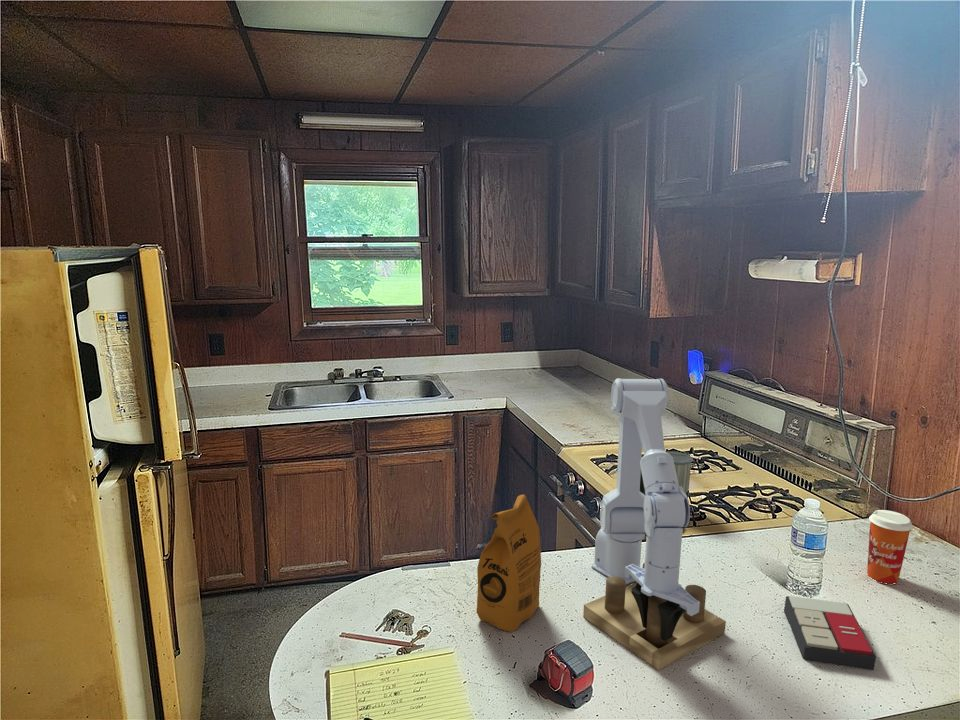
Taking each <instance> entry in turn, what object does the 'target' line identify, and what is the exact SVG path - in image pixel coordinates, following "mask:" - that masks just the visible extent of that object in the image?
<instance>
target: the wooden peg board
mask: <svg viewBox="0 0 960 720" xmlns="http://www.w3.org/2000/svg"><path fill="white" fill-rule="evenodd" d="M644 566H645V562H643V564H642V568H644ZM636 584H637V581H635V582H632V583H630V584H628V585H626V581H625V580H624V579H622V578H620V577H616V576H612V577H607V578H606V579H605V594H604V595H603V596H601V597H599V598H597V599H594V600H592V601H590V602H587V603H585V604H583V613H582V614H583V615H582V617H583V618H584V619H585V620H587V621H589V623H591V624H593V625H594V626H596V627H597V628H598V629H600V630H601V631H602V632H604V633H605V634H607V636H609V637H611V638H612V639H614V640H615V641H616V642H618V643H620V645H622V646H623V647H625V648H626V649H628V650H629V651H630V652H632V653H634V654H635V655H636V656H637V657H639V658H640V659H642V660H644V661H645V662H646V663H648V664H649V665H650V666H652V667H653V668H654V669H656V670H657V671H661V670H663V669H665V668H666V667H667V666H670V665H671V664H673V663H674V662H676V661H678V660H680V659H682V658H684V657H685V656H687V655H688V654H690V653H692V652H694V651H696V650H698V649H699V648H701V647H703V646H705V645H707V644H708V643H710V642H712V641H714V640H715V639H717V638H720V637H721V636H722V635H724V634H725V632H726V623H727V621H726V620H724V619H723V618H722V617H719V616H718V615H717V614H714V613H712V612H710V611H709V610H708V609H706V608H705V607H706V600H707V598H706V597H707V591H706V589H705V588H704V587H703V586H701V585H697V584H687V585H686V586H685V588H684V589H685V590H686V591H687V592H688V593H689V594H690V595H691V596H692V597H693V598H695V599H696V600H697V601H699V602H700V607H699V613H697V614H695V615H693V616H690V615H689V614H687V610H685V611H684V613H683V614H682V616H681V617H680V619H679V621H678V623H677V625H676V627H675V629H674V632H673V635H672V637H671V638H669V639H667V645H665V646H663V647H661V648H660V649H658V648H656V647H655V646H653V645H652V644H650V643H649V642H647V641H646V628H644V627H643V625H642V621H641V616H640V612H639V608H638V605H637V603H636V600H635V598H634V596H633V595H632V593H631V590H632V588H633V587H635V586H636Z"/></svg>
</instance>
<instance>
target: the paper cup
mask: <svg viewBox="0 0 960 720" xmlns="http://www.w3.org/2000/svg"><path fill="white" fill-rule="evenodd" d="M868 520H869V521H870V524H869V535H868V552H867V565H866V567H867V568H866V569H867V571H866V574H868V575H867V577H868V576H869V577H871V578H872V579H874V580H876V581H878V582H882V583H887V584H893V583H897V584H898V582H899V579H900V575H901V572H902V571H901V570H902V568H903V567H902V566H903V563H904V559H905V553H906V550H907V546H908V545H907V544H908V541H909V536H910V533H911V530H913V529H914V526H913V523H912V521H911V519H910V518H909V517H907V515H904V514H903V513H900V512H897V511H893V510H886V509H877V510H875V511H874V512H873V513H871V515H870V516H869V517H868ZM869 577H868V578H869ZM872 579H871V580H872ZM878 582H877V583H878Z"/></svg>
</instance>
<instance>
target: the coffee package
mask: <svg viewBox="0 0 960 720" xmlns="http://www.w3.org/2000/svg"><path fill="white" fill-rule="evenodd" d="M491 519H492V520H496V524H497V526H496V528H494V531H493V532H492V533H493V534H492V536H491V539H490V541H488V542H487V543H486V545H485V547H484V548H483V550H482V551H481V554H480V556H479V559H478V564H477V567H476V568H477V569H476V570H477V573H476V574H477V597H476V611H475V612H476V615H477V616H478V617H477V618H478V619H479V620H480V621H481V622H485V623H487V624H489V625H491V626H493V625H494V626H495V627H497V629H499V630H500V631H505V632H509V631H510V633H513V632H516V630H517V629H518V628H519V626H521V624H522V623H523V622H524V621H528V620H530V619H531V618H532V617H533V615H534V614H535V612H536V611H537V608H538V607H539V606H540V583H541V569H542V553H541V552H542V547H541V544H542V543H541V536H540V535H541V534H540V527H539V525H538V521H537V519H536V517H535V515H534V513H533V510H532V508H531V506H530V503H529V501H528V499H527V496H526V495H525V494H519V495H518V496H517V497H516V500H515V502H514V504H513V508H510V509H507V510H502V511H499V512H495V513H493V514H492V515H491Z"/></svg>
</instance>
